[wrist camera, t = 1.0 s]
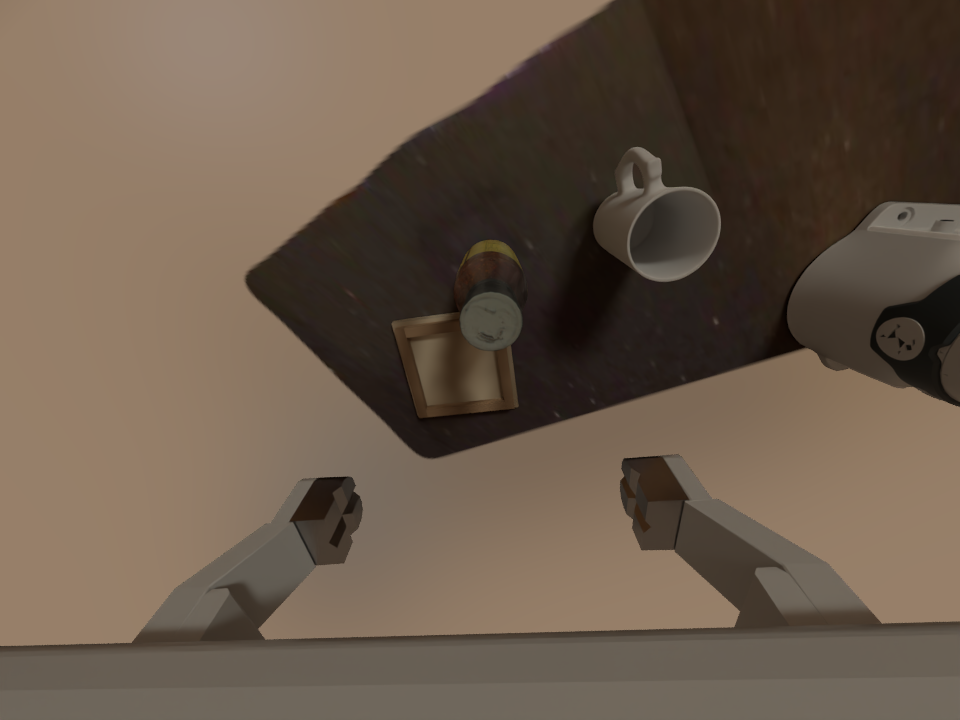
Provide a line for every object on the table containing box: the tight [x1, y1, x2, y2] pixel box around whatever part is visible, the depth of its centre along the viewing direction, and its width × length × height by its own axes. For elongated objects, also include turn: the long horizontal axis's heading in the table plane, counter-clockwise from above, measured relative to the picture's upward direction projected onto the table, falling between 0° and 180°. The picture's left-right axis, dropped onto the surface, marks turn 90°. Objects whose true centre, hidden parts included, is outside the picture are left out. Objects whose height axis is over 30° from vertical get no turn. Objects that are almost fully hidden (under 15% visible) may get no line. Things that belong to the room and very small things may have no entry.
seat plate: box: [392, 312, 518, 418], centre depth 44 cm, size 14×14×2 cm
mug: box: [593, 147, 721, 282], centre depth 31 cm, size 10×7×12 cm, turn 22°
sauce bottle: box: [454, 239, 528, 351], centre depth 31 cm, size 6×6×20 cm
